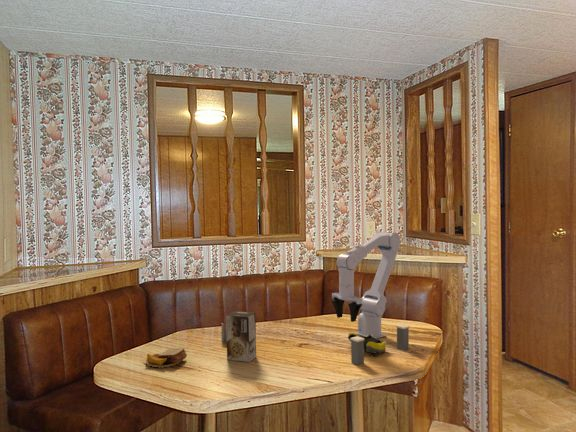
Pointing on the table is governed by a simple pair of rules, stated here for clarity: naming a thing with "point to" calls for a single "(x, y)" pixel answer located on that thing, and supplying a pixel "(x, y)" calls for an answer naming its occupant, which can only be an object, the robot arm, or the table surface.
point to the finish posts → (358, 342)
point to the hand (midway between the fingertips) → (346, 319)
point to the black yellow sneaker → (371, 343)
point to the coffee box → (241, 336)
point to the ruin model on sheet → (224, 333)
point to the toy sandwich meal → (166, 358)
